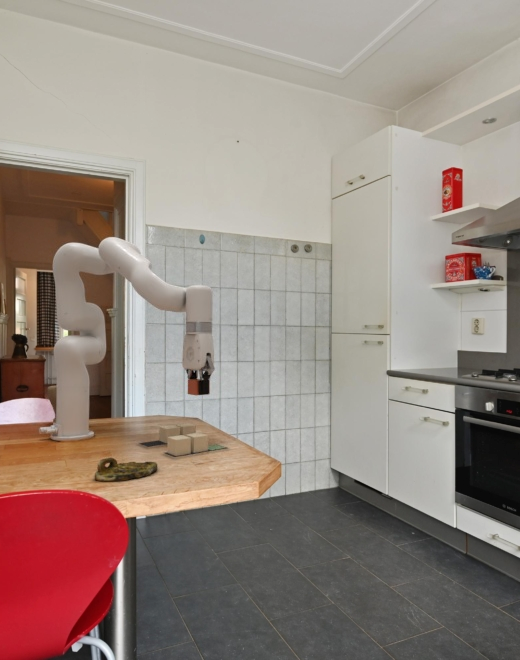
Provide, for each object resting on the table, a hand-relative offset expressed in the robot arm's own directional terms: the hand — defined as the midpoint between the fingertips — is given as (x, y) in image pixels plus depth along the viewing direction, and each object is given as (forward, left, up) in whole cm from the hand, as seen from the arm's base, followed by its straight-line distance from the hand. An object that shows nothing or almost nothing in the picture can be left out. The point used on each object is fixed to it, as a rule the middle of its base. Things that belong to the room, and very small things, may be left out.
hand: (198, 393), depth 135 cm
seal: (-27, -13, -16) cm, 33 cm away
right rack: (-3, -4, -15) cm, 16 cm away
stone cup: (-18, +58, -16) cm, 63 cm away
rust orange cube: (0, 0, 0) cm, 0 cm away
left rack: (-3, +11, -15) cm, 19 cm away
